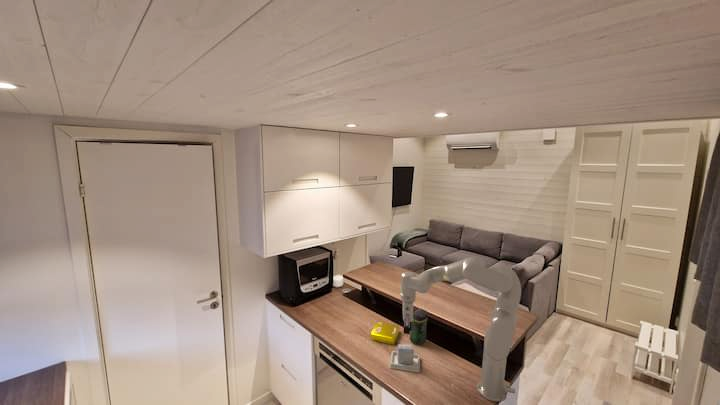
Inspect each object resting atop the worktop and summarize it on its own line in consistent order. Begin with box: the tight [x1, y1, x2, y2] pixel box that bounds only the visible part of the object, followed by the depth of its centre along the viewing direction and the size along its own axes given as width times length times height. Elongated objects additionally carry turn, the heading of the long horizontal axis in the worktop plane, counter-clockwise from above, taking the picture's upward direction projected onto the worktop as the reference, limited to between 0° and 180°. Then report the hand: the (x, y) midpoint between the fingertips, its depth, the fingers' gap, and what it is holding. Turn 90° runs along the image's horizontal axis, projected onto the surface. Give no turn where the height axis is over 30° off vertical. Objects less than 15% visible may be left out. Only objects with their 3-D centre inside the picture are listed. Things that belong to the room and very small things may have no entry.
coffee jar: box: [409, 308, 429, 346], centre depth 171 cm, size 10×8×19 cm
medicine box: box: [396, 343, 415, 364], centre depth 152 cm, size 8×4×9 cm, turn 90°
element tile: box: [370, 321, 400, 345], centre depth 176 cm, size 15×15×5 cm
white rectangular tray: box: [389, 350, 421, 373], centre depth 153 cm, size 15×11×2 cm
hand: (407, 328), depth 150 cm, fingers open, 9 cm apart
